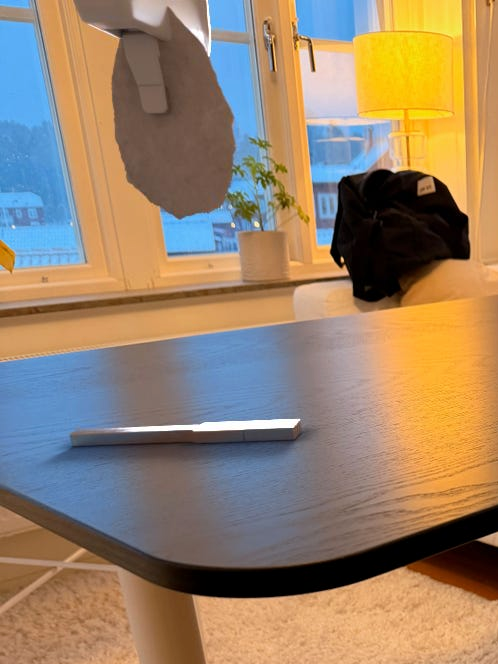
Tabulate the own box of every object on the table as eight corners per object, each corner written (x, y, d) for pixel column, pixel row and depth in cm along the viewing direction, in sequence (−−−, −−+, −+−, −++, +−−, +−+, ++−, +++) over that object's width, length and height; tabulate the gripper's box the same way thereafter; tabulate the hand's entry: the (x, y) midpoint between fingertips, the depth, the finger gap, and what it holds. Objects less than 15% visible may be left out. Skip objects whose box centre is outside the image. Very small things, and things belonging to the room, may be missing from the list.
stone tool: (247, 217, 74) (217, 0, 67) (248, 216, 71) (217, -11, 65) (131, 221, 72) (89, -2, 65) (128, 221, 69) (83, -13, 63)
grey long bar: (68, 448, 70) (64, 436, 69) (83, 439, 72) (80, 427, 72) (294, 440, 69) (293, 427, 69) (302, 431, 72) (300, 418, 71)
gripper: (116, -169, 53) (161, 99, 59) (210, -73, 71) (238, 124, 77) (12, -163, 53) (68, 104, 59) (133, -69, 72) (166, 128, 78)
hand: (165, 116), depth 69 cm, fingers closed on stone tool, 2 cm apart
